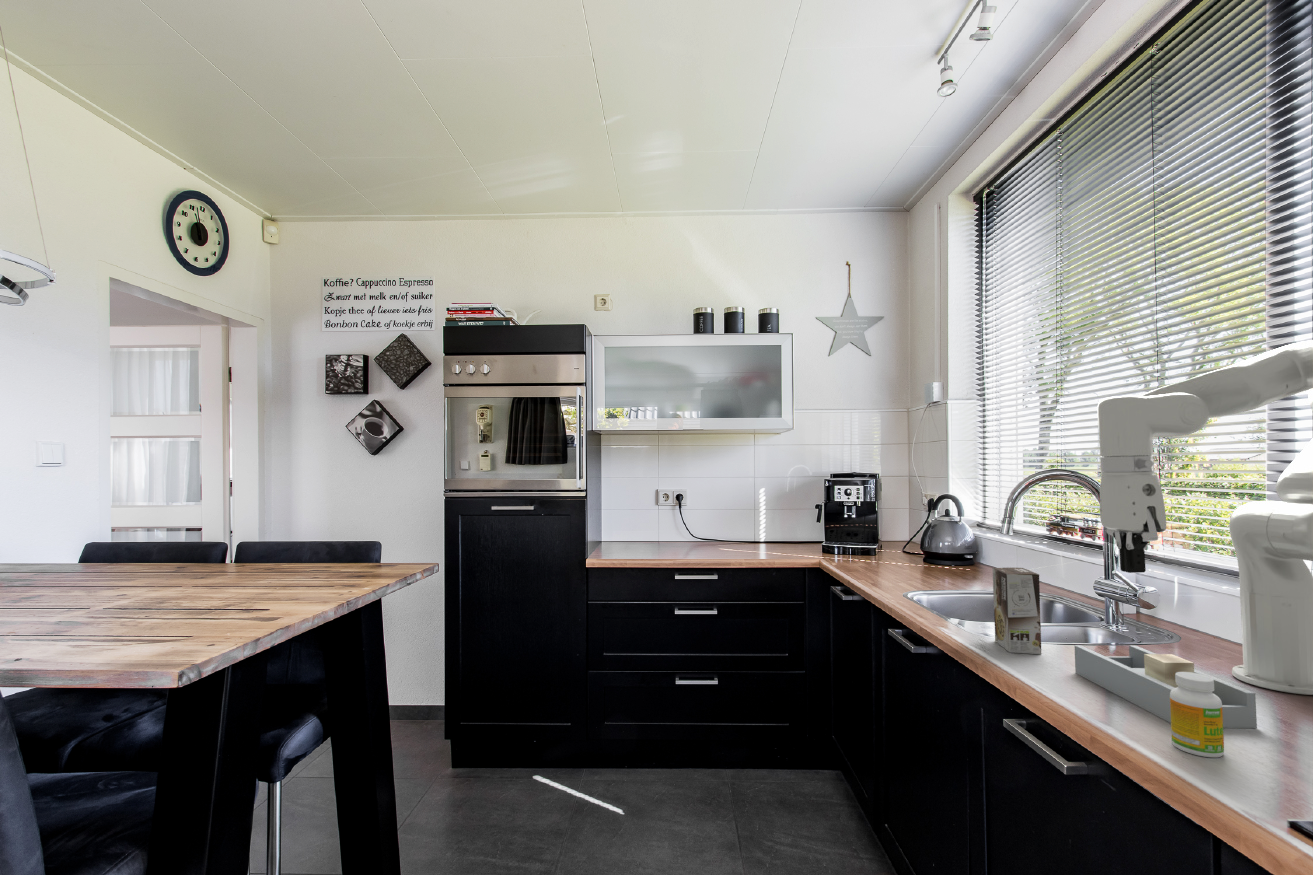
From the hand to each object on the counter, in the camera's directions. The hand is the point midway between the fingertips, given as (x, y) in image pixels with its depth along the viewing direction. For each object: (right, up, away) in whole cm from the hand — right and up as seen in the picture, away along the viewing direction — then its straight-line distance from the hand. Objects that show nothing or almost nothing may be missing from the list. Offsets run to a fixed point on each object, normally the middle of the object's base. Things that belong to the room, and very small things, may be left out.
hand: (1133, 571), depth 109 cm
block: (-1, -16, -9) cm, 19 cm away
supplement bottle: (-10, -19, -25) cm, 33 cm away
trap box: (-1, -19, -6) cm, 20 cm away
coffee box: (-7, -21, +22) cm, 31 cm away
